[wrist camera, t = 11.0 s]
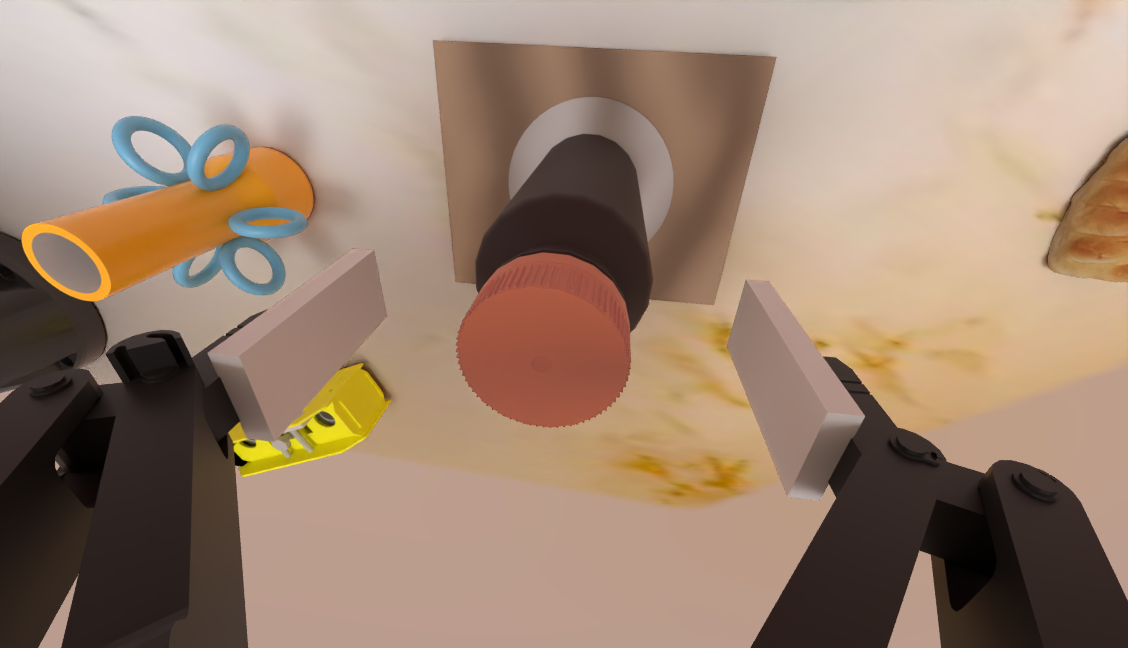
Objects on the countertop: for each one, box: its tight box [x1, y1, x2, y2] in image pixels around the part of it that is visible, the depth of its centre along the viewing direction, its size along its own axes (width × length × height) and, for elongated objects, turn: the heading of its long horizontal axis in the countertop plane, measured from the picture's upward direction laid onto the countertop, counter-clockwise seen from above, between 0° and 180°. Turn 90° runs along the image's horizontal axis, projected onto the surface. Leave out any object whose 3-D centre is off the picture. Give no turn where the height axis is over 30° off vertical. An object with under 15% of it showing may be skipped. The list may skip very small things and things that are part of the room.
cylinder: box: [22, 116, 314, 301], centre depth 27 cm, size 12×10×15 cm
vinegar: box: [456, 134, 653, 428], centre depth 21 cm, size 7×7×20 cm
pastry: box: [1048, 138, 1128, 282], centre depth 26 cm, size 9×7×4 cm
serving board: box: [433, 40, 776, 305], centre depth 30 cm, size 20×16×2 cm
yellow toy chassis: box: [228, 363, 391, 477], centre depth 41 cm, size 16×6×8 cm, turn 112°
